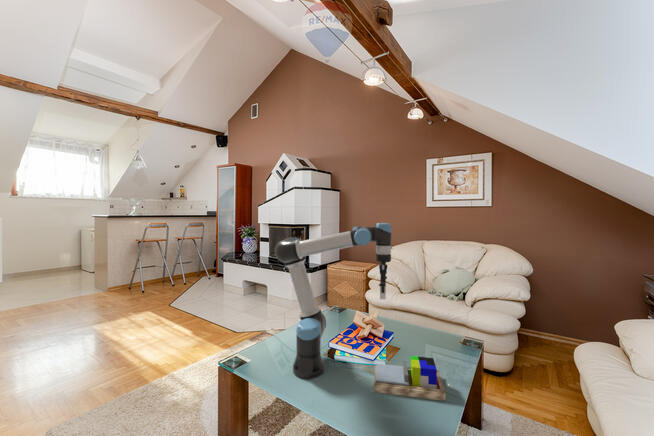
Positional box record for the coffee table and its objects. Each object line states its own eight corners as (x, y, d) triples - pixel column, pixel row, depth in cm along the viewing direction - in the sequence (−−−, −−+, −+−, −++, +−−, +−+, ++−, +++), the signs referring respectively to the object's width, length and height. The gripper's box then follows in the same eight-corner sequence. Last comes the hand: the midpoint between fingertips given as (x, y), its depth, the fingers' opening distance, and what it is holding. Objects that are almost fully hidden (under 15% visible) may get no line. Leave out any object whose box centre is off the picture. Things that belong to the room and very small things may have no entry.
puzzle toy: (436, 392, 128) (436, 369, 127) (412, 389, 130) (412, 367, 129) (432, 379, 138) (433, 358, 137) (410, 377, 140) (410, 355, 139)
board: (374, 391, 129) (374, 384, 129) (375, 369, 147) (375, 363, 147) (445, 400, 123) (445, 392, 123) (438, 376, 141) (438, 369, 141)
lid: (375, 381, 131) (375, 373, 131) (376, 365, 144) (376, 357, 144) (408, 385, 128) (408, 376, 128) (406, 368, 142) (406, 360, 142)
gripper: (391, 257, 139) (390, 303, 140) (390, 250, 163) (390, 289, 164) (374, 257, 141) (374, 302, 141) (376, 249, 165) (376, 288, 166)
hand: (382, 295), depth 153 cm, fingers open, 13 cm apart
